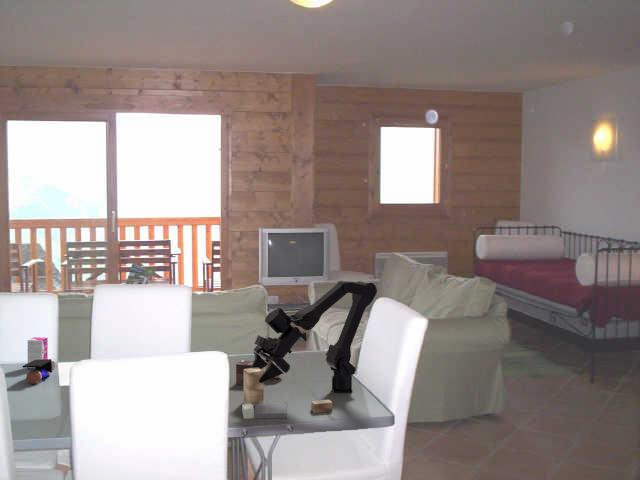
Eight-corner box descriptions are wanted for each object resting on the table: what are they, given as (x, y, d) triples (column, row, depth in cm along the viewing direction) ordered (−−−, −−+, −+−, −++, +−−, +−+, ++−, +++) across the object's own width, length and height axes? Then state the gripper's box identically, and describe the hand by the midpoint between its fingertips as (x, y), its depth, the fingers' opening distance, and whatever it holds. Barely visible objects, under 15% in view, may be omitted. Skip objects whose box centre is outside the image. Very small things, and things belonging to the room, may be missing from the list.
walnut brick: (329, 408, 223) (329, 399, 223) (332, 411, 220) (332, 402, 220) (311, 410, 222) (311, 401, 221) (314, 413, 219) (314, 404, 218)
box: (251, 385, 248) (251, 365, 248) (235, 384, 250) (235, 364, 249) (256, 380, 254) (256, 361, 254) (241, 379, 256) (240, 360, 255)
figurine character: (37, 378, 262) (21, 385, 247) (37, 357, 262) (21, 363, 247) (55, 378, 262) (40, 385, 247) (56, 357, 262) (41, 363, 247)
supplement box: (42, 369, 268) (41, 340, 267) (27, 369, 268) (26, 340, 267) (48, 365, 274) (47, 337, 273) (33, 365, 274) (32, 336, 273)
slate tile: (287, 407, 224) (287, 403, 223) (286, 418, 214) (286, 413, 213) (255, 407, 223) (255, 403, 223) (253, 418, 213) (253, 413, 213)
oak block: (257, 400, 232) (257, 367, 231) (263, 404, 227) (263, 370, 226) (243, 402, 229) (243, 369, 228) (249, 406, 225) (249, 372, 224)
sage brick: (242, 413, 219) (242, 403, 219) (251, 412, 219) (251, 403, 219) (244, 419, 213) (244, 409, 213) (254, 418, 214) (253, 409, 213)
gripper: (259, 321, 237) (228, 356, 233) (281, 331, 221) (248, 370, 216) (280, 342, 241) (250, 377, 237) (303, 354, 225) (271, 392, 221)
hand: (254, 378), depth 228 cm, fingers open, 9 cm apart
